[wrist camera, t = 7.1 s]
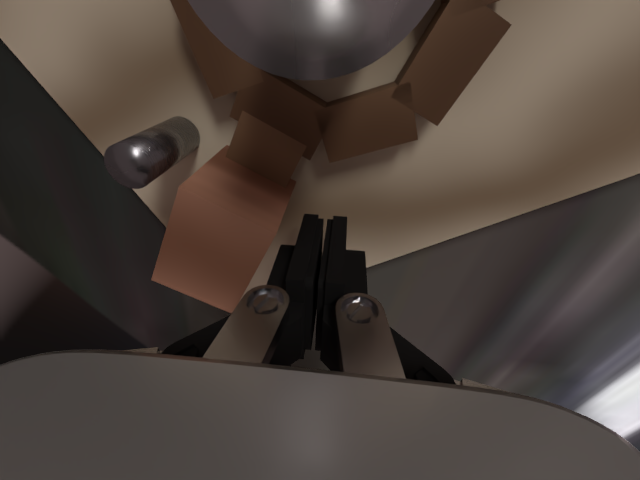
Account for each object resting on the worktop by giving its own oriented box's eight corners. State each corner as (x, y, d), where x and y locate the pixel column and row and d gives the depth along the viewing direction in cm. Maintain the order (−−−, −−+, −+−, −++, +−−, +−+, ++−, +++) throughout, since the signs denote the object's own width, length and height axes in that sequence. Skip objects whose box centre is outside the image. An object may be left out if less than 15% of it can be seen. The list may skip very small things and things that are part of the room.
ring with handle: (250, -419, 6) (123, -977, 3) (591, -106, 8) (770, -213, 4) (130, 189, 14) (58, 240, 10) (317, 278, 15) (308, 345, 12)
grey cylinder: (122, 79, 11) (-202, 142, 5) (364, -103, 8) (411, -636, 2) (181, 158, 13) (-3, 291, 6) (406, 26, 10) (518, 9, 3)
